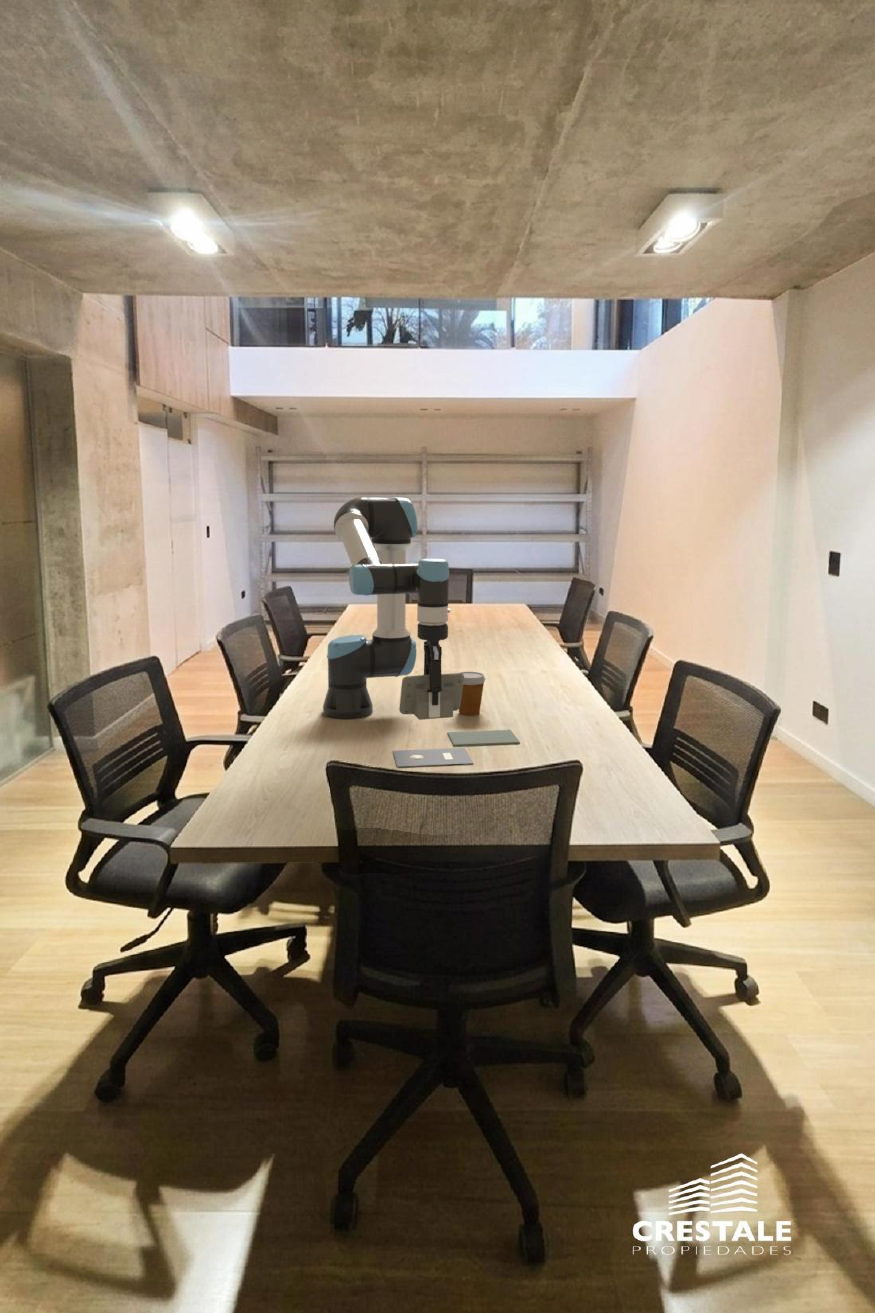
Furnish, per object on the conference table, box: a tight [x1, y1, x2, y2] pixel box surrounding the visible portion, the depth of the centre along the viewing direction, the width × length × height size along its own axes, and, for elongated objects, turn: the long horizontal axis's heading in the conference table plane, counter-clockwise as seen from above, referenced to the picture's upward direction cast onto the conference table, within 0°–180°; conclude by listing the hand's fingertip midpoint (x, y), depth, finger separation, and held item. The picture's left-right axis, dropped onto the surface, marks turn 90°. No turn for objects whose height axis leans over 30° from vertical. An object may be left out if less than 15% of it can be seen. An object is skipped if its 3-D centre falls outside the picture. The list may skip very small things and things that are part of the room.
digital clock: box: [399, 672, 464, 721], centre depth 192 cm, size 16×9×11 cm, turn 95°
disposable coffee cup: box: [458, 671, 486, 716], centre depth 235 cm, size 10×10×12 cm
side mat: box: [447, 729, 521, 747], centre depth 211 cm, size 18×11×1 cm, turn 98°
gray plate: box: [392, 747, 474, 768], centre depth 195 cm, size 19×12×1 cm, turn 98°
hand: (432, 712), depth 193 cm, fingers closed on digital clock, 7 cm apart
